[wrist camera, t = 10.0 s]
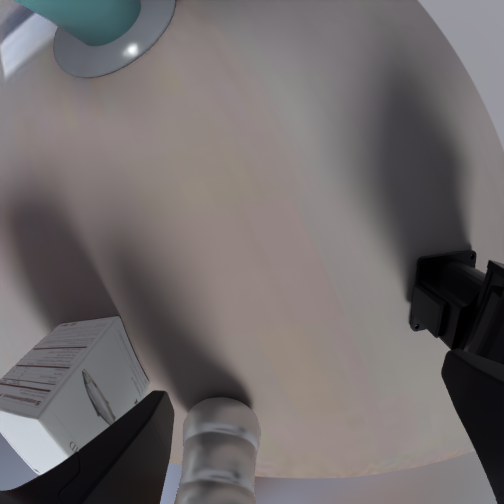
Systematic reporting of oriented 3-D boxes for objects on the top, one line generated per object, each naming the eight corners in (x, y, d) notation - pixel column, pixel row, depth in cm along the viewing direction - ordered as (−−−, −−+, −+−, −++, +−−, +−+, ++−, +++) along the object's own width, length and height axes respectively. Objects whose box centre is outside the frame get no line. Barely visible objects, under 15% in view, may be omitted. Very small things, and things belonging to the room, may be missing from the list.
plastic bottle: (184, 384, 23) (129, 602, 4) (262, 389, 23) (272, 619, 4) (191, 429, 25) (158, 607, 6) (259, 433, 25) (263, 617, 6)
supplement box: (152, 383, 23) (107, 497, 11) (90, 384, 24) (34, 474, 12) (122, 312, 21) (37, 420, 9) (58, 320, 22) (-26, 401, 10)
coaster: (176, -42, 14) (175, -44, 13) (178, 55, 16) (176, 53, 16) (63, -1, 14) (61, -3, 13) (52, 96, 17) (49, 95, 16)
